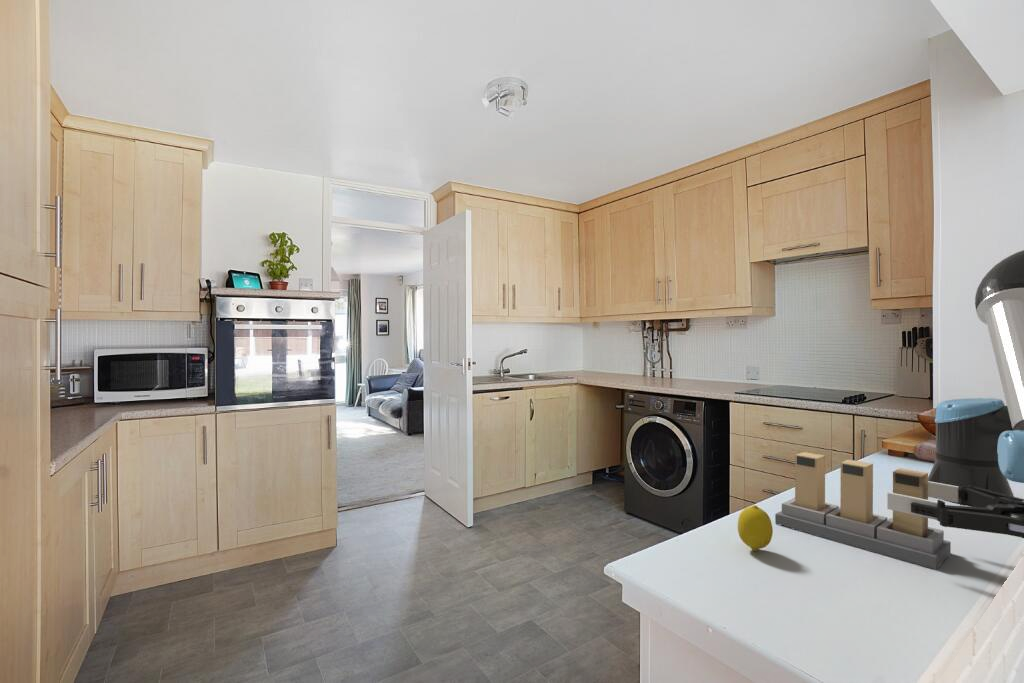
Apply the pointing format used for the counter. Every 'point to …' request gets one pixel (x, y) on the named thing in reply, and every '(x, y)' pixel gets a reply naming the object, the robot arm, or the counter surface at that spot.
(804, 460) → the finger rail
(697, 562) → the counter surface
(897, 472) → the oak finger
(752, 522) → the lemon
